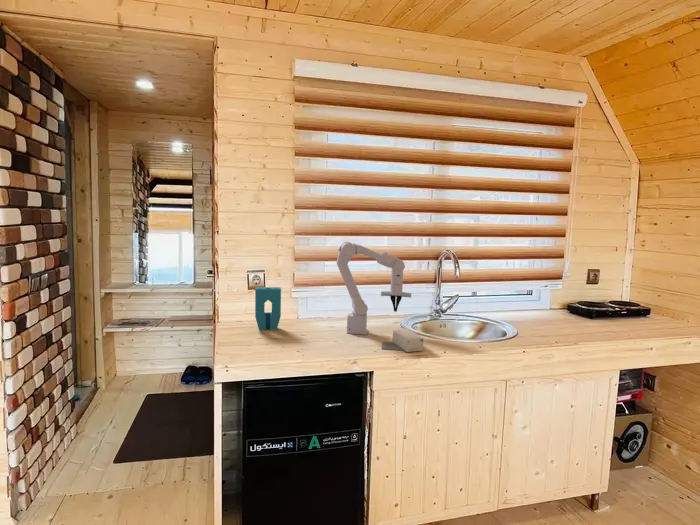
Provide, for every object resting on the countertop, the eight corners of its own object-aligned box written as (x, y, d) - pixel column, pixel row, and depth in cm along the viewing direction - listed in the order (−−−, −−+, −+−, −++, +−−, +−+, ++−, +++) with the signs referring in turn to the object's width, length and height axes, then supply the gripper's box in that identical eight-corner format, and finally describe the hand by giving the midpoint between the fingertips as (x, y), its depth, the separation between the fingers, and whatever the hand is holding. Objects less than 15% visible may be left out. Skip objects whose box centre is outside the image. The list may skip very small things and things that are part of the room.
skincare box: (392, 341, 207) (405, 353, 193) (392, 329, 206) (405, 339, 192) (409, 340, 209) (423, 351, 195) (410, 328, 209) (424, 338, 194)
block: (280, 327, 226) (280, 287, 224) (280, 330, 221) (281, 289, 219) (255, 327, 224) (255, 287, 222) (255, 330, 219) (255, 289, 217)
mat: (381, 349, 197) (381, 348, 197) (382, 342, 207) (382, 341, 207) (414, 351, 196) (414, 350, 196) (413, 344, 205) (413, 343, 205)
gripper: (411, 282, 224) (410, 310, 226) (382, 281, 226) (380, 308, 228) (411, 285, 217) (410, 313, 219) (381, 283, 219) (380, 311, 221)
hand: (395, 311), depth 223 cm, fingers closed
